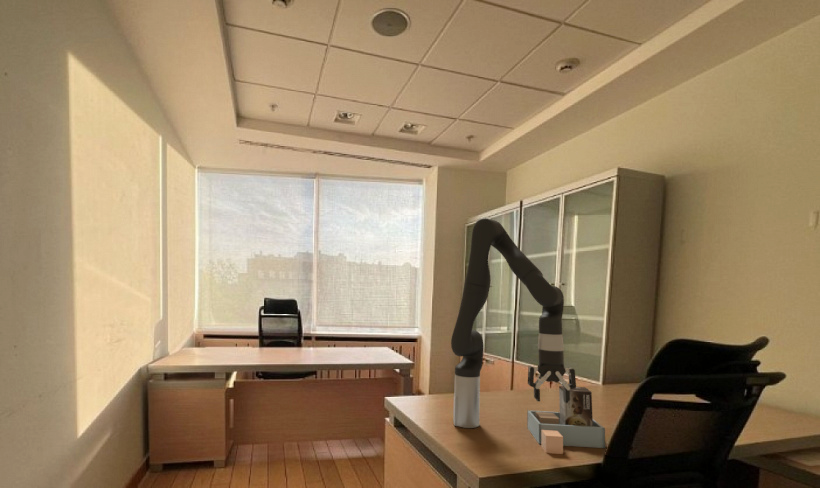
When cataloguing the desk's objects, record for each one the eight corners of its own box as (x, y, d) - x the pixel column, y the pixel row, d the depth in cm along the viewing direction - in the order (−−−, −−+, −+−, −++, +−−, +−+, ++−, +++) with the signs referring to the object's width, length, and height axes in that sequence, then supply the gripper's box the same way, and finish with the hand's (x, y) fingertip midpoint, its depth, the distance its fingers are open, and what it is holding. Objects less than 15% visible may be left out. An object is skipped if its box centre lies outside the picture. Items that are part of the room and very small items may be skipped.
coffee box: (586, 435, 128) (585, 386, 131) (594, 443, 122) (592, 391, 124) (559, 433, 129) (558, 385, 131) (565, 440, 123) (564, 389, 125)
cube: (546, 453, 113) (545, 435, 113) (541, 446, 118) (541, 429, 118) (563, 454, 112) (562, 436, 113) (557, 447, 117) (557, 430, 118)
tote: (539, 443, 119) (538, 424, 120) (527, 427, 134) (527, 410, 135) (605, 448, 118) (604, 428, 119) (586, 431, 133) (585, 413, 133)
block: (559, 437, 123) (558, 418, 124) (540, 436, 124) (540, 417, 124) (553, 431, 129) (553, 413, 130) (535, 430, 130) (535, 411, 130)
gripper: (531, 349, 116) (531, 403, 113) (578, 350, 115) (579, 406, 113) (525, 345, 123) (525, 397, 121) (569, 347, 122) (570, 399, 120)
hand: (551, 401), depth 117 cm, fingers open, 8 cm apart
